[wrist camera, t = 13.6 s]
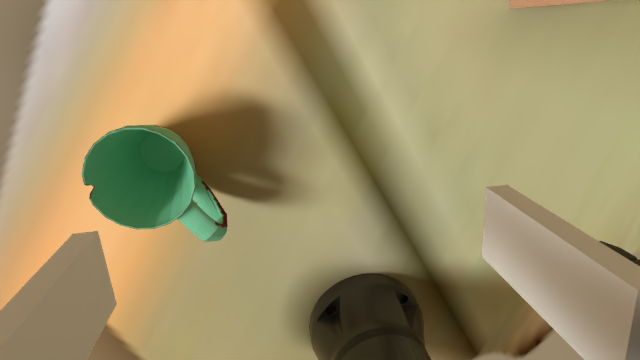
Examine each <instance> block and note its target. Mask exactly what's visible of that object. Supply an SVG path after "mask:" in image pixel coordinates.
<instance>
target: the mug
mask: <svg viewBox="0 0 640 360" xmlns="http://www.w3.org/2000/svg"><path fill="white" fill-rule="evenodd" d="M82 177H83V182H84V185H92V186H93V187H94V188H93V190H92V191H91V193H90V198H89V199H90V201H91V203H92V205H93V206H94V207H95V208H96V209H97V210H98V211H99V212H100V213H101V214H103V215H104V216H105V217H106V218H108V219H110V220H112V221H113V222H115V223H117V224H119V225H121V226H125V227H130V228H134V229H155V228H158V227H161V226H164V225H167V224H170V223H171V222H173V221H174V220H175V219H178V220H179V221H180V222H181V223H183V224H184V225H185V226H186V227H187V228H188V229H189V230H190V231H191V232H192V233H194V234H195V235H196V236H197V237H199V238H200V239H201V240H203V241H217V240H220V239H222V238H223V236H224V235H225V233H226V231H227V214H226V212H225V211H224V209H223V208H222V206H221V205H220V203H219V202H218V200H217V199H216V197H215V195H214V194H213V192H212V191H211V189H210V188H209V187H208V186H207V185H206V184H205V183H204V181H203V180H202V179H201V178H200V177H199V176H198V175H197V174H196V170H195V164H194V160H193V156H192V154H191V152H190V150H189V147H188V145H187V144H186V143H185V142H184V141H183V139H182V138H181V137H180V136H179V135H178V134H176V133H174V132H173V131H171V130H170V129H167V128H164V127H160V126H157V125H138V126H125V127H122V128H119V129H116V130H113V131H110V132H108V133H107V134H106V135H104V136H103V137H102V138H100V139H99V140H98V141H96V142H95V143H94V144H93V145H92V147H91V149H90V150H89V152H88V153H87V155H86V157H85V159H84V164H83V170H82Z"/></svg>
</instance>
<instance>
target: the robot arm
mask: <svg viewBox="0 0 640 360" xmlns="http://www.w3.org/2000/svg"><path fill="white" fill-rule="evenodd" d="M482 257H483V258H484V259H485V260H486V261H487V262H488V263H489V264H490V265H491V266H492V267H493V268H494V269H495V270H496V271H497V272H498V273H499V274H500V275H501V276H502V277H503V278H504V279H505V280H506V281H507V282H508V283H509V284H510V285H511V286H512V287H513V288H514V289H515V290H516V292H517V293H518V294H519V295H520V296H521V297H522V298H523V299H524V300H525V301H526V302H527V303H528V304H529V305H530V306H531V307H532V308H533V309H534V310H535V311H536V312H537V313H538V314H539V315H540V316H541V317H542V318H543V319H544V320H545V321H546V322H547V323H548V324H549V325H550V326H551V327H552V328H553V329H554V330H555V331H556V332H557V333H558V334H559V335H560V336H561V337H562V338H563V339H564V340H565V341H566V342H567V343H568V344H569V345H570V346H571V347H572V348H573V349H574V350H575V351H576V352H577V353H578V354H579V355H580V356H581V357H582V358H583V359H584V360H640V260H637V258H636V257H635V256H633V255H631V254H630V253H628V252H626V251H625V250H623V249H621V248H619V247H616V246H613V245H610V244H608V243H605V242H602V241H597V240H596V239H594V238H593V237H591V236H589V235H588V234H586V233H584V232H583V231H581V230H580V229H578V228H576V227H575V226H573V225H571V224H570V223H568V222H566V221H565V220H563V219H562V218H560V217H558V216H557V215H555V214H553V213H552V212H550V211H549V210H547V209H545V208H544V207H542V206H540V205H539V204H537V203H535V202H534V201H532V200H531V199H529V198H527V197H526V196H524V195H522V194H521V193H519V192H518V191H516V190H514V189H513V188H511V187H509V186H508V185H501V186H492V187H486V196H485V214H484V233H483V252H482ZM115 306H116V300H115V296H114V292H113V288H112V284H111V281H110V277H109V273H108V269H107V265H106V261H105V257H104V253H103V249H102V245H101V241H100V238H99V234H98V231H94V232H85V233H77V234H73V235H72V236H71V237H70V238H69V239H68V240H67V241H66V242H65V243H64V244H63V245H62V246H61V247H60V248H59V249H58V250H57V251H56V252H55V254H54V255H53V256H52V257H51V258H50V259H49V260H48V261H47V262H46V263H45V264H44V265H43V266H42V267H41V268H40V269H39V270H38V272H37V273H36V274H35V275H34V276H33V277H32V278H31V279H30V280H29V281H28V282H27V283H26V284H25V285H24V286H23V287H22V288H21V290H20V291H19V292H18V293H17V294H16V295H15V296H14V297H13V298H12V299H11V300H10V301H9V302H8V303H7V304H6V305H5V306H4V307H3V309H2V310H1V311H0V360H87V358H88V356H89V354H90V352H91V351H92V349H93V347H94V345H95V343H96V341H97V339H98V338H99V336H100V334H101V332H102V330H103V328H104V326H105V325H106V323H107V321H108V319H109V317H110V315H111V313H112V312H113V310H114V308H115ZM309 328H310V336H311V342H312V347H313V350H314V352H315V354H316V356H317V358H318V359H319V360H431V358H430V356H429V354H428V352H427V350H426V348H425V344H424V326H423V317H422V313H421V310H420V307H419V305H418V303H417V302H416V300H415V298H414V296H413V295H412V293H411V292H410V291H409V289H408V288H407V287H406V286H404V285H403V284H402V283H400V282H399V281H397V280H395V279H393V278H391V277H387V276H384V275H378V274H364V275H358V276H353V277H350V278H347V279H345V280H343V281H341V282H339V283H337V284H335V285H334V286H332V287H331V288H330V289H329V290H327V291H326V292H325V293H324V294H323V295H322V296H321V298H320V299H319V300H318V302H317V303H316V305H315V307H314V309H313V311H312V314H311V318H310V325H309Z"/></svg>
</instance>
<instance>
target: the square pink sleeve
mask: <svg viewBox="0 0 640 360" xmlns="http://www.w3.org/2000/svg"><path fill="white" fill-rule="evenodd" d="M596 1H606V0H510V8H523V7H536V6H550V5H563V4H574V3H585V2H596Z"/></svg>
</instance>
